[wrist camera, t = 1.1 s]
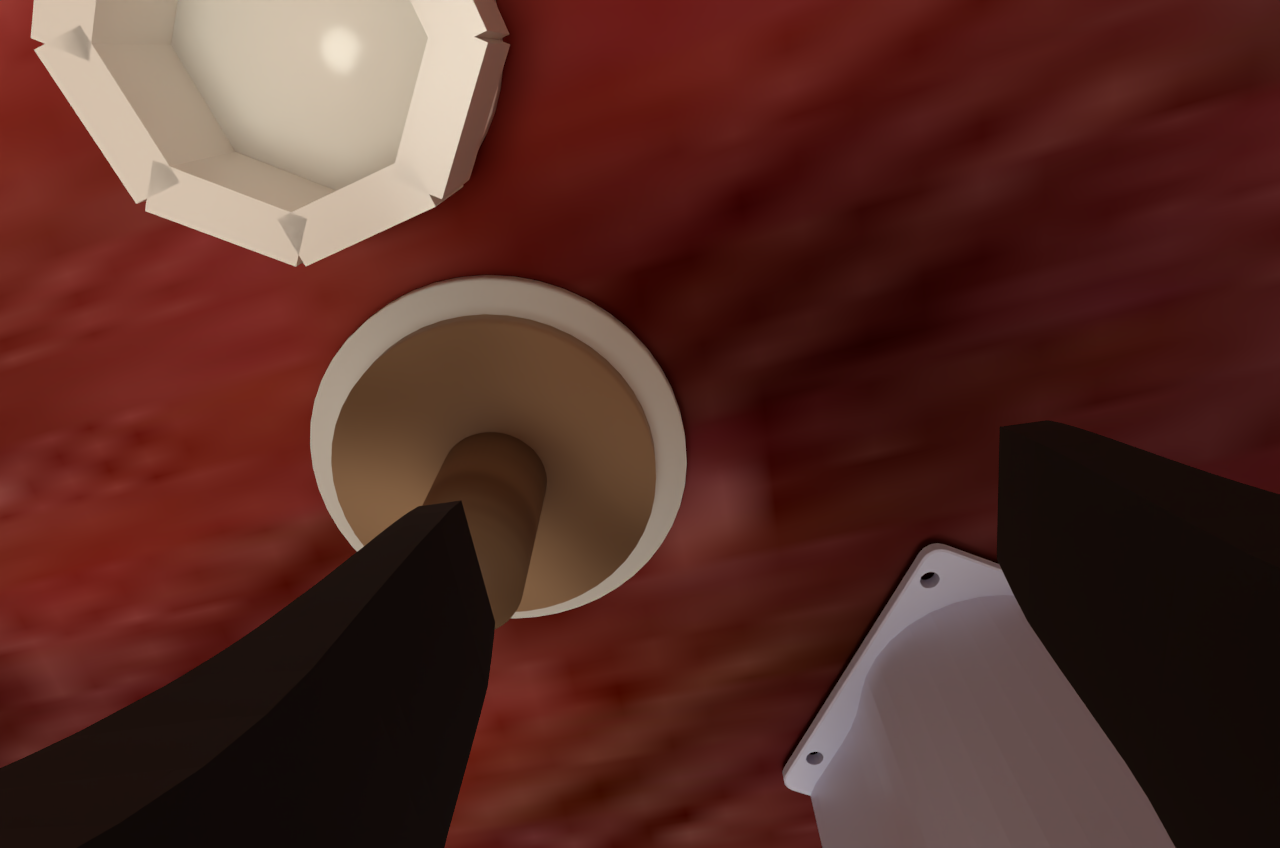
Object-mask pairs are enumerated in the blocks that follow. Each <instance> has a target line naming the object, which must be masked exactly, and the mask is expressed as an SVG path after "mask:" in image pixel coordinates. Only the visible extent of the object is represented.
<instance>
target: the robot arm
mask: <svg viewBox="0 0 1280 848" xmlns="http://www.w3.org/2000/svg"><path fill="white" fill-rule="evenodd" d="M997 561H998V563H999V564H997V563H995V562H992V561H989V560H986V559H984V558H981V557H978V556H975V555H973V554H970V553H967V552H964V551H962V550H959V549H956V548H953V547H951V546H948V545H945V544H940V543H935V544H930V545H928V546H926V547H924V548H923V549H922V550H921V551H920V552H919V554H918V555H917V557H916V558H915V560H914V562H913V563H912V565H911V566H910V568H909V570H908V571H907V573H906V574H905V576H904V577H903V579H902V581H901V582H900V584H899V585H898V587H897V589H896V590H895V592H894V593H893V595H892V597H891V598H890V600H889V601H888V603H887V605H886V606H885V608H884V609H883V611H882V612H881V614H880V616H879V617H878V619H877V620H876V622H875V624H874V625H873V627H872V628H871V630H870V632H869V633H868V635H867V636H866V638H865V639H864V641H863V643H862V644H861V646H860V647H859V649H858V651H857V652H856V654H855V655H854V657H853V659H852V660H851V662H850V663H849V665H848V666H847V668H846V670H845V671H844V673H843V674H842V676H841V678H840V679H839V681H838V682H837V684H836V686H835V687H834V689H833V690H832V692H831V693H830V695H829V697H828V698H827V700H826V701H825V703H824V705H823V706H822V708H821V709H820V711H819V713H818V714H817V716H816V717H815V719H814V720H813V722H812V724H811V725H810V727H809V728H808V730H807V732H806V733H805V735H804V736H803V738H802V740H801V741H800V743H799V744H798V746H797V747H796V749H795V751H794V752H793V754H792V755H791V757H790V759H789V760H788V762H787V763H786V765H785V767H784V769H783V772H782V773H783V778H784V783H785V785H786V786H787V787H788V788H789V789H791V790H793V791H796V792H800V793H803V794H806V795H810V796H811V800H812V804H813V809H814V813H815V817H816V822H817V826H818V831H819V835H820V839H821V844H822V848H1280V495H1279V494H1276V493H1272V492H1269V491H1266V490H1262V489H1259V488H1256V487H1252V486H1249V485H1246V484H1242V483H1239V482H1236V481H1233V480H1230V479H1227V478H1224V477H1220V476H1217V475H1214V474H1211V473H1208V472H1205V471H1202V470H1199V469H1196V468H1193V467H1190V466H1187V465H1184V464H1182V463H1179V462H1176V461H1173V460H1170V459H1167V458H1164V457H1161V456H1158V455H1156V454H1153V453H1150V452H1147V451H1144V450H1141V449H1139V448H1136V447H1133V446H1130V445H1127V444H1124V443H1121V442H1119V441H1116V440H1113V439H1110V438H1107V437H1104V436H1101V435H1098V434H1095V433H1092V432H1089V431H1086V430H1083V429H1080V428H1076V427H1073V426H1070V425H1066V424H1062V423H1058V422H1053V421H1040V422H1033V423H1026V424H1018V425H1011V426H1004V427H1000V445H999V487H998V529H997ZM928 572H935V573H934V575H933V576H932V577H931V578H929V579H927V580H922V579H921V577H922V576H923V575H924V574H925V573H928ZM494 629H495V620H494V616H493V613H492V609H491V605H490V602H489V598H488V595H487V591H486V587H485V584H484V580H483V577H482V573H481V569H480V566H479V562H478V559H477V555H476V551H475V548H474V544H473V540H472V537H471V533H470V530H469V526H468V522H467V519H466V515H465V512H464V508H463V504H462V501H454V502H446V503H439V504H432V505H424V506H418V507H416V508H415V509H413V510H411V511H410V512H408V513H407V514H405V515H404V516H402V517H401V518H400V519H398V520H397V521H395V522H394V523H393V524H392V525H390V526H389V527H388V528H386V529H385V530H384V531H383V532H381V533H380V534H379V535H377V536H376V537H375V538H374V539H372V540H371V541H370V542H369V543H367V544H366V545H365V546H364V547H363V548H361V549H360V550H359V551H358V552H356V553H355V554H354V555H353V556H351V557H350V558H349V559H348V560H346V561H345V562H344V563H343V564H341V565H340V566H339V567H337V568H336V569H335V570H334V571H332V572H331V573H330V574H329V575H327V576H326V577H325V578H324V579H322V580H321V581H320V582H319V583H317V584H316V585H315V586H313V587H312V588H311V589H309V590H308V591H307V592H305V593H304V594H302V595H301V596H300V597H298V598H297V599H296V600H294V601H293V602H292V603H290V604H289V605H288V606H286V607H285V608H283V609H282V610H281V611H279V612H278V613H277V614H275V615H274V616H273V617H271V618H270V619H269V620H267V621H266V622H265V623H263V624H262V625H260V626H259V627H258V628H256V629H255V630H253V631H252V632H250V633H249V634H247V635H246V636H245V637H243V638H242V639H240V640H239V641H237V642H236V643H234V644H232V645H231V646H229V647H228V648H226V649H225V650H223V651H222V652H220V653H219V654H217V655H215V656H214V657H212V658H210V659H209V660H207V661H206V662H204V663H202V664H201V665H199V666H197V667H196V668H194V669H193V670H191V671H189V672H188V673H186V674H185V675H183V676H181V677H180V678H178V679H176V680H174V681H173V682H171V683H169V684H167V685H166V686H164V687H162V688H160V689H158V690H157V691H155V692H153V693H151V694H149V695H147V696H145V697H143V698H142V699H140V700H138V701H136V702H134V703H132V704H130V705H128V706H127V707H125V708H123V709H121V710H119V711H117V712H115V713H113V714H112V715H110V716H108V717H106V718H104V719H102V720H100V721H98V722H97V723H95V724H93V725H91V726H89V727H87V728H85V729H83V730H81V731H79V732H77V733H75V734H73V735H71V736H69V737H67V738H65V739H63V740H61V741H59V742H57V743H54V744H52V745H50V746H48V747H46V748H44V749H42V750H40V751H38V752H35V753H33V754H31V755H29V756H27V757H25V758H23V759H20V760H18V761H16V762H14V763H11V764H9V765H7V766H4V767H2V768H0V848H444V847H445V842H446V838H447V834H448V831H449V827H450V823H451V820H452V816H453V812H454V809H455V805H456V802H457V798H458V794H459V791H460V787H461V783H462V780H463V776H464V773H465V769H466V765H467V762H468V758H469V754H470V751H471V747H472V744H473V740H474V736H475V732H476V729H477V725H478V721H479V717H480V714H481V710H482V706H483V702H484V698H485V694H486V690H487V686H488V679H489V672H490V664H491V657H492V648H493V639H494ZM812 752H818V753H817V754H814V755H810V754H809V753H812Z"/></svg>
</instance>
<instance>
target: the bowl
mask: <svg viewBox="0 0 1280 848" xmlns="http://www.w3.org/2000/svg"><path fill="white" fill-rule="evenodd" d="M507 35H509V32H508V30H507V27H506V25H505V23H504V21H503V19H502V16H501V14H500V12H499V10H498V7H497V3H496V0H34V7H33V18H32V30H31V38H32V39H35V40H37V41H40V42H42V43H45V44H44V45H42V46H40V47H39V48H37V49H35V52H36V53H37V55H38V56H39V58H40V59H41V61H42V62H43V64H44V65H45V67H46V69H47V70H48V72H49V73H50V75H51V76H52V78H53V79H54V81H55V82H56V84H57V85H58V87H59V88H60V90H61V91H62V93H63V94H64V96H65V97H66V99H67V100H68V102H69V103H70V105H71V106H72V108H73V109H74V111H75V112H76V114H77V115H78V117H79V118H80V120H81V121H82V123H83V124H84V126H85V127H86V129H87V130H88V132H89V133H90V135H91V136H92V138H93V139H94V141H95V142H96V144H97V145H98V147H99V148H100V150H101V151H102V153H103V154H104V156H105V157H106V159H107V160H108V162H109V163H110V165H111V166H112V168H113V169H114V171H115V172H116V174H117V175H118V177H119V178H120V180H121V181H122V183H123V184H124V186H125V187H126V189H127V191H128V192H129V194H130V195H131V197H132V198H133V200H134V201H135V203H136V204H137V203H141V202H144V201H147V202H146V209H145V211H147V212H149V213H152V214H155V215H158V216H160V217H163V218H166V219H168V220H171V221H174V222H176V223H179V224H182V225H185V226H187V227H190V228H193V229H195V230H198V231H201V232H204V233H206V234H209V235H212V236H214V237H217V238H220V239H222V240H225V241H228V242H231V243H233V244H236V245H239V246H241V247H244V248H247V249H250V250H252V251H255V252H258V253H260V254H263V255H266V256H268V257H271V258H274V259H277V260H279V261H282V262H285V263H287V264H290V265H293V266H295V267H296V266H298V265H300V264H301V263H304V265H305V266H308V265H310V264H312V263H314V262H317V261H319V260H321V259H323V258H325V257H328V256H330V255H332V254H334V253H336V252H338V251H341V250H343V249H345V248H347V247H349V246H351V245H354V244H356V243H358V242H360V241H362V240H364V239H367V238H369V237H371V236H373V235H375V234H378V233H380V232H382V231H384V230H386V229H388V228H391V227H393V226H395V225H397V224H399V223H401V222H404V221H406V220H408V219H410V218H412V217H414V216H417V215H419V214H421V213H423V212H425V211H427V210H430V209H432V208H434V207H436V206H437V205H439V204H440V203H442V202H443V201H444V200H446V199H447V198H448V197H450V196H451V195H453V194H454V193H455V192H457V191H458V190H459V189H461V188H462V187H464V186H463V184H464V183H466V182H467V181H468V180H469V179H470V176H471V173H472V169H473V166H474V163H475V160H476V156H477V153H478V150H479V148H480V146H481V144H482V142H483V140H484V138H485V137H486V135H487V133H488V130H489V127H490V125H491V122H492V119H493V117H494V114H495V111H496V107H497V103H498V98H499V94H500V90H501V82H502V72H503V67H504V64H505V60H506V57H507V54H508V51H509V47H510V44H508V43H505V42H503V37H505V36H507Z"/></svg>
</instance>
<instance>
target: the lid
mask: <svg viewBox="0 0 1280 848" xmlns="http://www.w3.org/2000/svg"><path fill="white" fill-rule="evenodd" d="M331 466H332V474H333V482H334V486H335V490H336V494H337V498H338V501H339V503H340V506H341V508H342V511H343V513H344V516H345V518H346V520H347V521H348V523H349V525H350V527H351V528H352V530H353V532H354V534H355V535H356V536H357V538H358V539H359V540H360V542H361V543H362V544H363V546H365V545H366V544H367V543H369V542H370V541H371V540H372V539H374V538H375V537H376V536H377V535H379V534H380V533H381V532H383V531H384V530H385V529H386V528H388V527H389V526H390V525H392V524H393V523H394V522H395V521H397V520H398V519H400V518H401V517H402V516H404V515H405V514H407V513H408V512H410V511H411V510H413V509H415V508H416V507H418V506H424V505H432V504H439V503H446V502H454V501H462V504H463V508H464V512H465V515H466V519H467V522H468V526H469V530H470V533H471V537H472V540H473V544H474V548H475V551H476V555H477V559H478V562H479V566H480V569H481V573H482V577H483V580H484V584H485V587H486V591H487V595H488V598H489V602H490V605H491V609H492V613H493V616H494V620H495V629H497V628H498V627H500V626H502V625H503V624H504V623H506V622H507V621H508V620H509V619H510V618H511V617H512V616H513V615H514V613H515V612H522V611H531V610H536V609H542V608H547V607H550V606H554V605H557V604H560V603H564V602H566V601H568V600H571V599H573V598H575V597H578V596H580V595H582V594H584V593H586V592H587V591H589V590H591V589H592V588H594V587H596V586H598V585H599V584H600V583H601V582H603V581H604V580H605V579H607V578H608V577H609V576H611V575H612V574H613V573H614V572H615V571H616V570H617V569H618V568H619V567H620V566H621V565H622V564H623V563H624V562H625V561H626V559H627V558H628V557H629V555H630V554H631V553H632V551H633V550H634V549H635V547H636V546H637V544H638V542H639V540H640V538H641V537H642V535H643V533H644V531H645V529H646V526H647V523H648V521H649V518H650V515H651V512H652V507H653V502H654V498H655V486H656V463H655V451H654V443H653V438H652V434H651V430H650V426H649V423H648V421H647V418H646V415H645V413H644V410H643V408H642V406H641V404H640V402H639V401H638V399H637V397H636V395H635V393H634V392H633V390H632V389H631V387H630V386H629V385H628V383H627V382H626V381H625V379H624V378H623V377H622V375H621V374H620V373H619V372H618V371H617V370H616V369H615V368H614V367H613V366H612V365H611V364H610V363H609V362H608V361H607V360H606V359H605V358H604V357H603V356H601V355H600V354H599V353H598V352H596V351H595V350H594V349H593V348H591V347H590V346H588V345H587V344H585V343H584V342H582V341H580V340H579V339H577V338H575V337H574V336H572V335H570V334H568V333H566V332H564V331H561V330H559V329H557V328H555V327H552V326H550V325H547V324H543V323H540V322H537V321H534V320H530V319H525V318H520V317H514V316H508V315H491V314H482V315H469V316H461V317H456V318H451V319H446V320H442V321H439V322H436V323H434V324H431V325H428V326H425V327H422V328H420V329H418V330H417V331H415V332H413V333H411V334H409V335H407V336H405V337H403V338H402V339H401V340H399V341H398V342H396V343H395V344H394V345H392V346H391V347H389V348H388V349H387V350H386V351H385V352H384V353H383V354H382V355H381V356H380V357H379V358H378V359H376V360H375V361H374V362H373V364H372V365H371V366H370V367H369V368H368V369H367V370H366V371H365V373H364V374H363V375H362V376H361V378H360V379H359V380H358V382H357V383H356V384H355V386H354V387H353V388H352V389H351V391H350V393H349V395H348V397H347V398H346V400H345V402H344V404H343V406H342V408H341V411H340V414H339V416H338V419H337V422H336V425H335V430H334V435H333V440H332V454H331ZM495 629H494V630H495Z"/></svg>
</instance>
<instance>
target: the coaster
mask: <svg viewBox="0 0 1280 848" xmlns="http://www.w3.org/2000/svg"><path fill="white" fill-rule="evenodd" d="M482 314H491V315H508V316H514V317H520V318H525V319H530V320H534V321H537V322H540V323H543V324H547V325H550V326H552V327H555V328H557V329H559V330H561V331H564V332H566V333H568V334H570V335H572V336H574V337H575V338H577V339H579V340H580V341H582V342H584V343H585V344H587V345H588V346H590V347H591V348H593V349H594V350H595V351H596V352H598V353H599V354H600V355H601V356H603V357H604V358H605V359H606V360H607V361H608V362H609V363H610V364H611V365H612V366H613V367H614V368H615V369H616V370H617V371H618V372H619V373H620V374H621V375H622V377H623V378H624V379H625V381H626V382H627V383H628V385H629V386H630V387H631V389H632V390H633V392H634V393H635V395H636V397H637V399H638V401H639V402H640V404H641V406H642V408H643V410H644V413H645V415H646V418H647V421H648V423H649V426H650V430H651V434H652V438H653V443H654V451H655V463H656V486H655V498H654V502H653V507H652V512H651V515H650V518H649V521H648V523H647V526H646V529H645V531H644V533H643V535H642V537H641V538H640V540H639V542H638V544H637V546H636V547H635V549H634V550H633V551H632V553H631V554H630V555H629V557H628V558H627V559H626V561H625V562H624V563H623V564H622V565H621V566H620V567H619V568H618V569H617V570H616V571H615V572H614V573H613V574H612V575H611V576H609V577H608V578H607V579H605V580H604V581H603V582H601V583H600V584H599V585H598V586H596V587H594V588H592V589H591V590H589V591H587V592H586V593H584V594H582V595H580V596H578V597H575V598H573V599H571V600H568V601H566V602H564V603H560V604H557V605H554V606H550V607H547V608H542V609H536V610H531V611H522V612H515V613H514V615H513V616H512V617H511V618H527V617H539V616H544V615H550V614H556V613H560V612H563V611H567V610H570V609H573V608H577V607H580V606H582V605H585V604H587V603H589V602H592V601H594V600H596V599H599V598H600V597H602V596H604V595H606V594H607V593H609V592H611V591H612V590H614V589H616V588H618V587H619V586H620V585H622V584H623V583H624V582H626V581H627V580H628V579H629V578H631V577H632V576H633V575H635V574H636V573H637V572H638V571H639V570H640V569H641V568H642V567H643V566H644V565H645V564H646V563H647V562H648V561H649V560H650V558H651V557H652V556H653V555H654V553H655V552H656V551H657V549H658V548H659V547H660V545H661V544H662V543H663V541H664V539H665V537H666V536H667V534H668V532H669V530H670V529H671V527H672V525H673V522H674V520H675V517H676V515H677V512H678V510H679V507H680V504H681V500H682V495H683V491H684V487H685V479H686V467H687V458H686V443H685V433H684V427H683V423H682V418H681V413H680V409H679V406H678V403H677V400H676V398H675V395H674V392H673V390H672V387H671V385H670V383H669V381H668V380H667V378H666V376H665V374H664V372H663V370H662V368H661V367H660V365H659V364H658V362H657V361H656V360H655V358H654V357H653V355H652V354H651V353H650V351H649V350H648V349H647V347H646V346H645V345H644V344H643V343H642V342H641V341H640V340H639V339H638V338H637V337H636V336H635V334H634V333H633V332H632V331H631V330H630V329H629V328H627V327H626V326H625V325H624V324H623V323H621V322H620V321H619V320H618V319H616V318H615V317H614V316H613V315H611V314H610V313H609V312H607V311H606V310H604V309H602V308H601V307H599V306H597V305H596V304H594V303H593V302H591V301H589V300H588V299H586V298H583V297H581V296H579V295H577V294H575V293H572V292H570V291H568V290H566V289H564V288H560V287H557V286H554V285H551V284H548V283H544V282H541V281H537V280H532V279H526V278H521V277H515V276H501V275H477V276H465V277H457V278H453V279H448V280H443V281H439V282H435V283H432V284H429V285H427V286H424V287H421V288H418V289H415V290H413V291H411V292H409V293H407V294H405V295H403V296H401V297H399V298H397V299H396V300H394V301H392V302H390V303H389V304H387V305H386V306H385V307H383V308H382V309H380V310H379V311H378V312H376V313H375V314H374V315H372V316H371V317H370V318H369V319H368V320H367V321H366V322H365V323H364V324H363V325H362V326H361V327H360V328H359V329H358V330H357V331H356V332H355V333H354V334H353V335H352V336H351V337H350V338H349V339H348V340H347V341H346V342H345V343H344V345H343V346H342V347H341V349H340V350H339V351H338V353H337V354H336V355H335V357H334V358H333V359H332V361H331V363H330V365H329V367H328V369H327V371H326V373H325V375H324V377H323V378H322V381H321V384H320V387H319V390H318V393H317V395H316V398H315V402H314V407H313V413H312V419H311V432H310V448H311V456H312V464H313V470H314V473H315V477H316V481H317V484H318V488H319V491H320V493H321V495H322V498H323V500H324V503H325V505H326V507H327V510H328V511H329V513H330V515H331V517H332V518H333V520H334V522H335V523H336V525H337V527H338V528H339V530H340V531H341V533H342V534H343V535H344V536H345V538H346V539H347V540H348V542H349V543H350V544H351V546H352V547H353V548H354V549H355V550H356V551H357V552H358V551H359V550H360V549H361V548H363V547H364V546H363V544H362V543H361V542H360V540H359V539H358V538H357V536H356V535H355V534H354V532H353V530H352V528H351V527H350V525H349V523H348V521H347V520H346V518H345V516H344V513H343V511H342V508H341V506H340V503H339V501H338V498H337V494H336V490H335V486H334V482H333V474H332V466H331V454H332V440H333V435H334V430H335V425H336V422H337V419H338V416H339V414H340V411H341V408H342V406H343V404H344V402H345V400H346V398H347V397H348V395H349V393H350V391H351V389H352V388H353V387H354V386H355V384H356V383H357V382H358V380H359V379H360V378H361V376H362V375H363V374H364V373H365V371H366V370H367V369H368V368H369V367H370V366H371V365H372V364H373V362H374V361H375V360H376V359H378V358H379V357H380V356H381V355H382V354H383V353H384V352H385V351H386V350H387V349H388V348H389V347H391V346H392V345H394V344H395V343H396V342H398V341H399V340H401V339H402V338H403V337H405V336H407V335H409V334H411V333H413V332H415V331H417V330H418V329H420V328H422V327H425V326H428V325H431V324H434V323H436V322H439V321H442V320H446V319H451V318H456V317H461V316H469V315H482Z"/></svg>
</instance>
